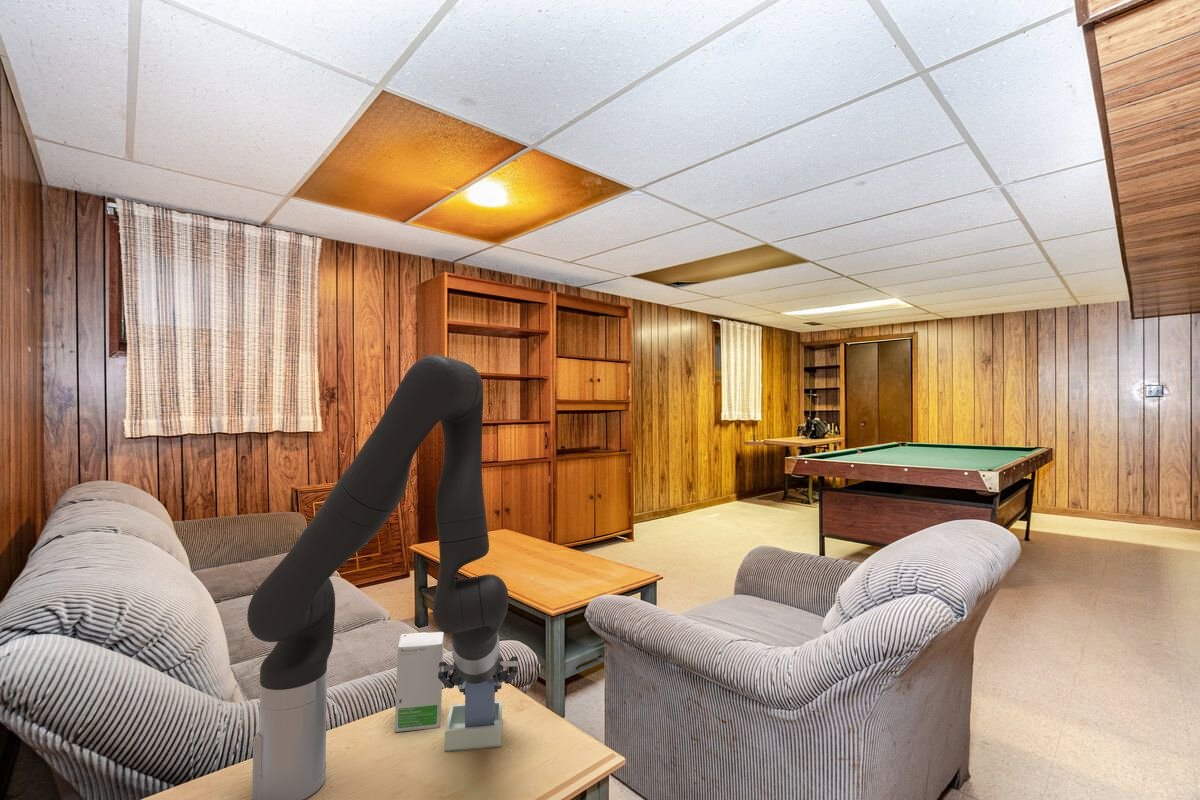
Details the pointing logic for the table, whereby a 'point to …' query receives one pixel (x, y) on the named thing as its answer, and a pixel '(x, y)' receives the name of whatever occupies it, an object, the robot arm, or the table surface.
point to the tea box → (479, 705)
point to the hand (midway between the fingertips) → (480, 687)
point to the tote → (471, 731)
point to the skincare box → (418, 681)
